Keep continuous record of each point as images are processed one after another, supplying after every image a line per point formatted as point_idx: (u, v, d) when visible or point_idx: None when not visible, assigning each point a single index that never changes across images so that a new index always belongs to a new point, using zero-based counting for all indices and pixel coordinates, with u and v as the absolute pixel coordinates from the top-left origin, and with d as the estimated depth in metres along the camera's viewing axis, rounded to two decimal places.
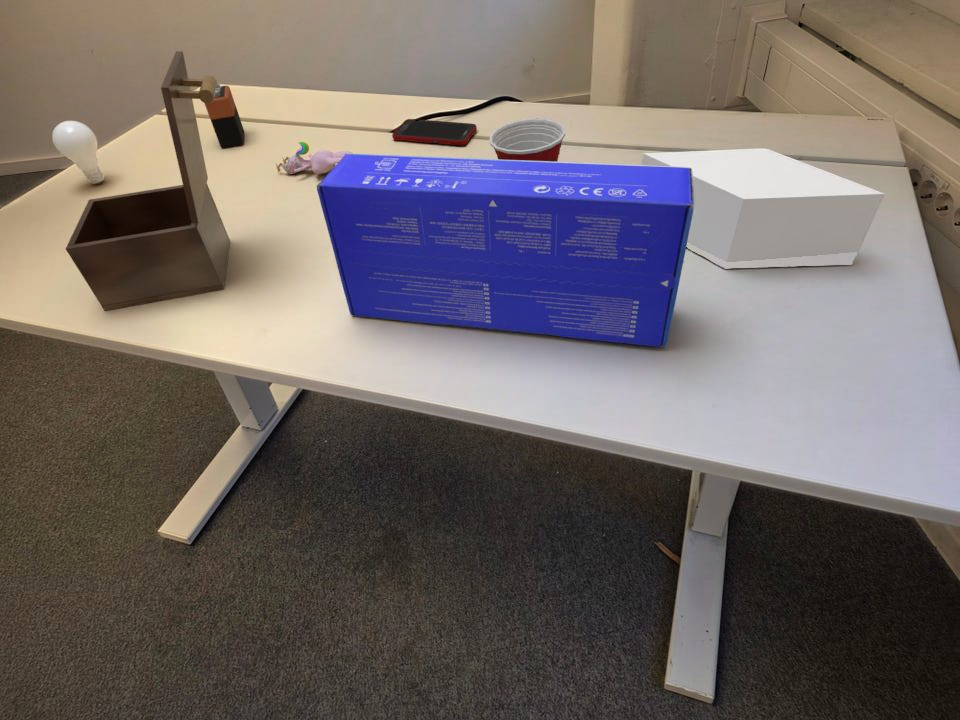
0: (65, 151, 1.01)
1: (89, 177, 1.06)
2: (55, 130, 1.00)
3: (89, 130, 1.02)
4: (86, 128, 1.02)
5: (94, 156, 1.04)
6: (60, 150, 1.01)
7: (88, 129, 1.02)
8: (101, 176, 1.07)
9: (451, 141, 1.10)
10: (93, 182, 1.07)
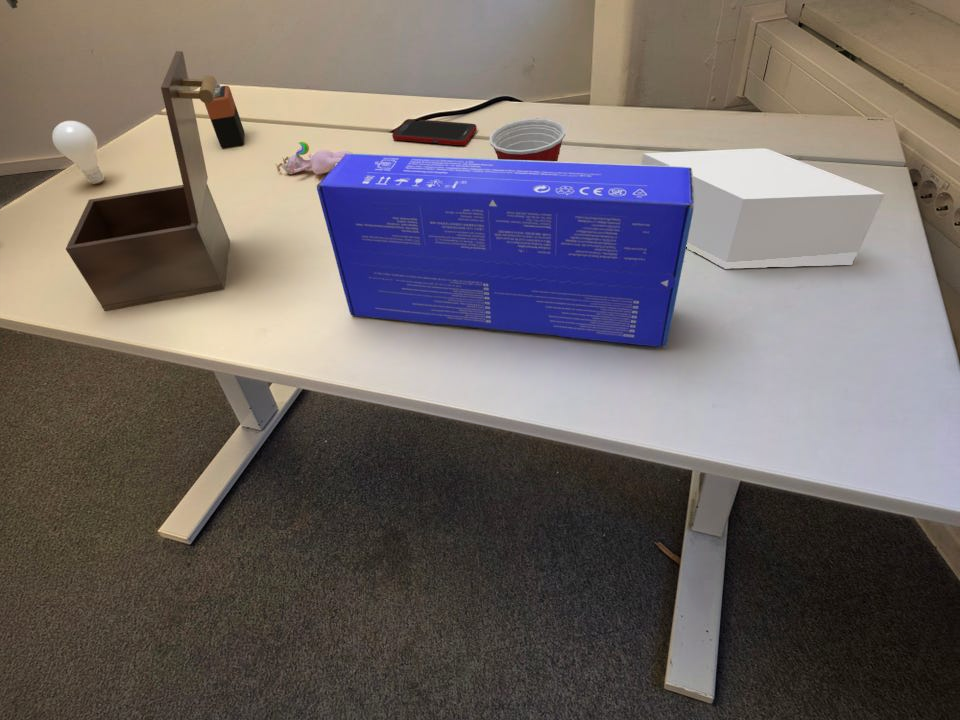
0: (65, 151, 1.01)
1: (89, 177, 1.06)
2: (55, 130, 1.00)
3: (89, 130, 1.02)
4: (86, 128, 1.02)
5: (94, 156, 1.04)
6: (60, 150, 1.01)
7: (88, 129, 1.02)
8: (101, 176, 1.07)
9: (451, 141, 1.10)
10: (93, 182, 1.07)
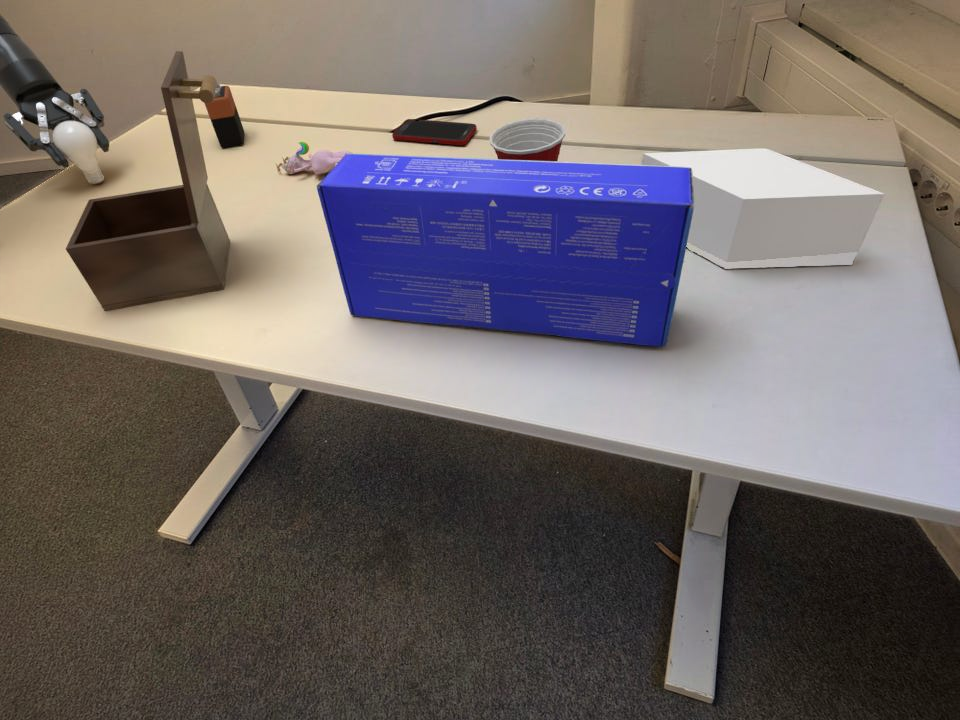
0: (65, 151, 1.01)
1: (89, 177, 1.06)
2: (55, 130, 1.00)
3: (89, 130, 1.02)
4: (86, 128, 1.02)
5: (94, 156, 1.04)
6: (60, 150, 1.01)
7: (88, 129, 1.02)
8: (101, 176, 1.07)
9: (451, 141, 1.10)
10: (93, 182, 1.07)
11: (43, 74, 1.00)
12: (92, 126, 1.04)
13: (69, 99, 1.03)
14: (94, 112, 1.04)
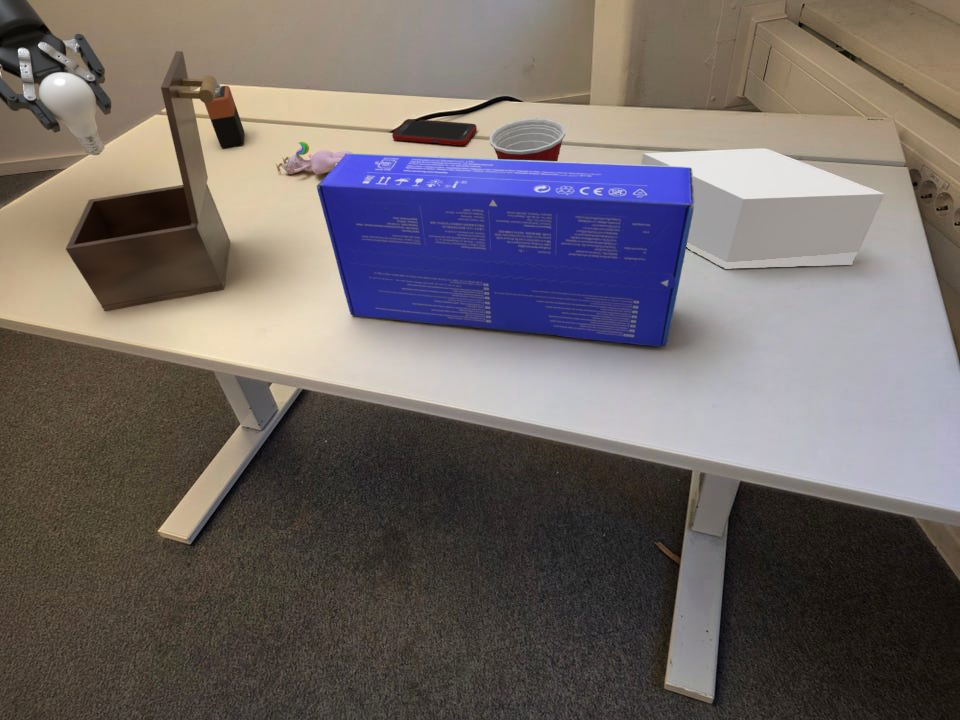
0: (56, 111, 0.79)
1: (86, 146, 0.84)
2: (43, 83, 0.78)
3: (86, 85, 0.80)
4: (82, 82, 0.80)
5: (92, 119, 0.83)
6: (49, 109, 0.79)
7: (85, 84, 0.80)
8: (101, 145, 0.85)
9: (451, 141, 1.10)
10: (91, 152, 0.85)
11: (27, 12, 0.78)
12: (90, 81, 0.82)
13: (60, 46, 0.81)
14: (92, 63, 0.83)
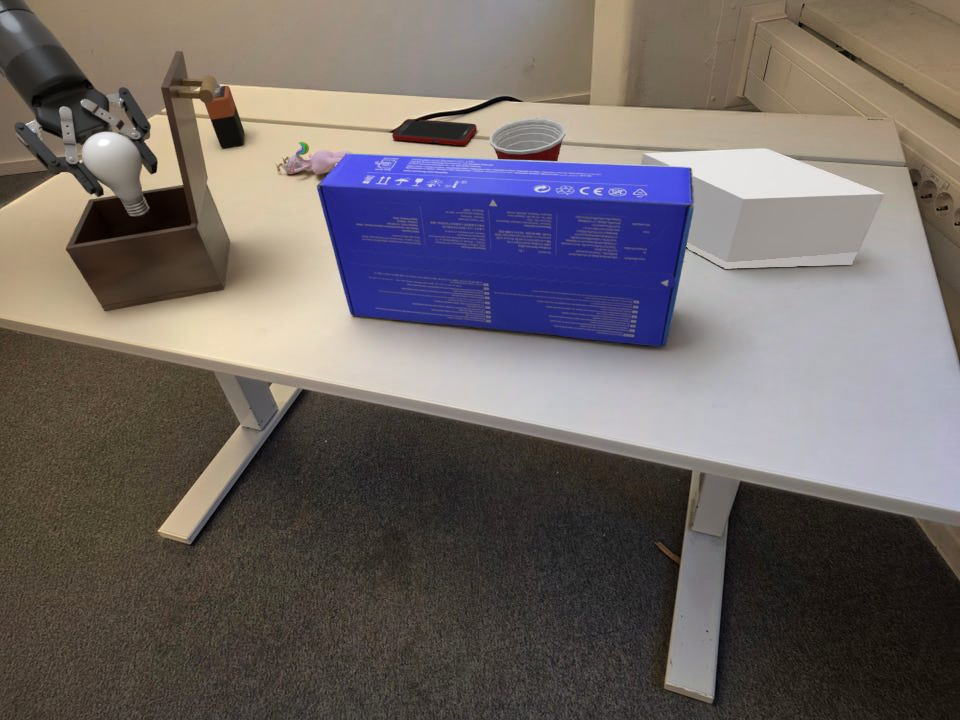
0: (100, 175, 0.72)
1: (130, 208, 0.77)
2: (86, 145, 0.71)
3: (132, 145, 0.74)
4: (128, 142, 0.73)
5: (138, 180, 0.76)
6: (92, 173, 0.72)
7: (131, 143, 0.74)
8: (146, 206, 0.79)
9: (451, 141, 1.10)
10: (135, 215, 0.78)
11: (69, 67, 0.71)
12: (135, 139, 0.75)
13: (104, 102, 0.75)
14: (138, 119, 0.76)
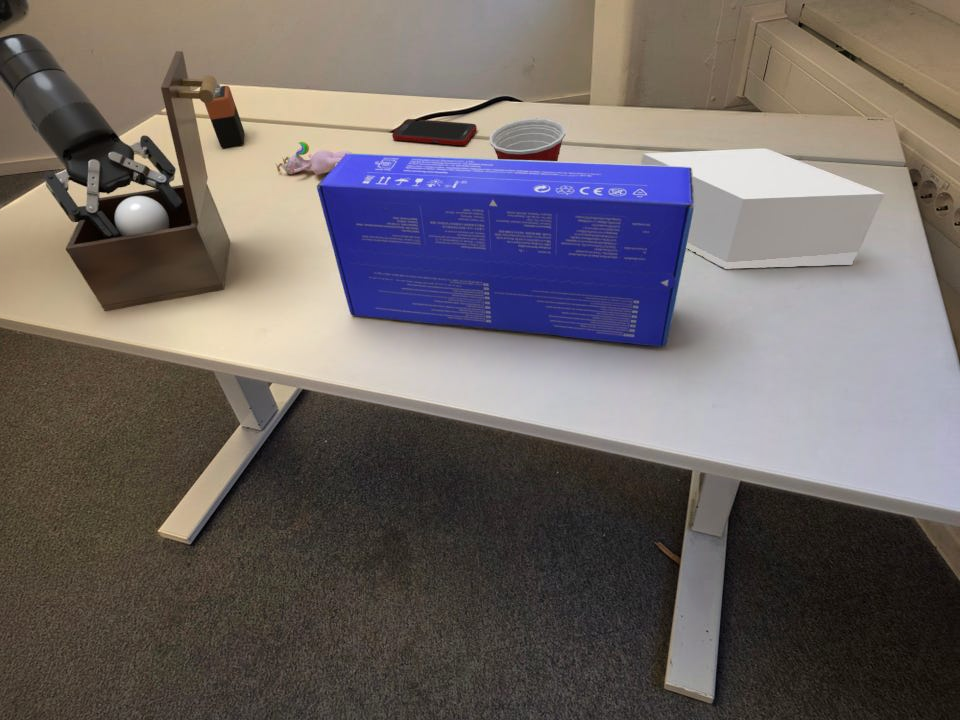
0: None
1: None
2: (119, 210, 0.77)
3: (161, 208, 0.80)
4: (157, 205, 0.79)
5: None
6: (124, 235, 0.78)
7: (159, 206, 0.79)
8: None
9: (451, 141, 1.10)
10: None
11: (98, 122, 0.76)
12: (161, 182, 0.81)
13: (129, 153, 0.79)
14: (163, 164, 0.81)
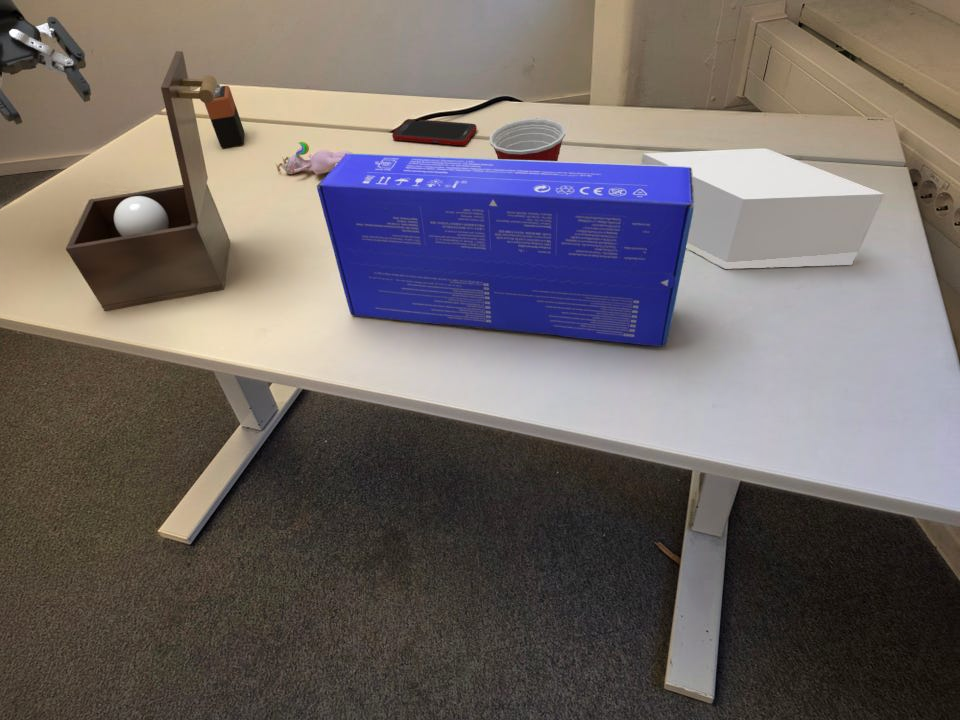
0: None
1: None
2: (118, 210, 0.77)
3: (160, 207, 0.80)
4: (156, 205, 0.79)
5: None
6: (124, 235, 0.78)
7: (159, 206, 0.79)
8: None
9: (451, 141, 1.10)
10: None
11: None
12: (68, 66, 0.78)
13: (34, 33, 0.77)
14: (71, 48, 0.78)
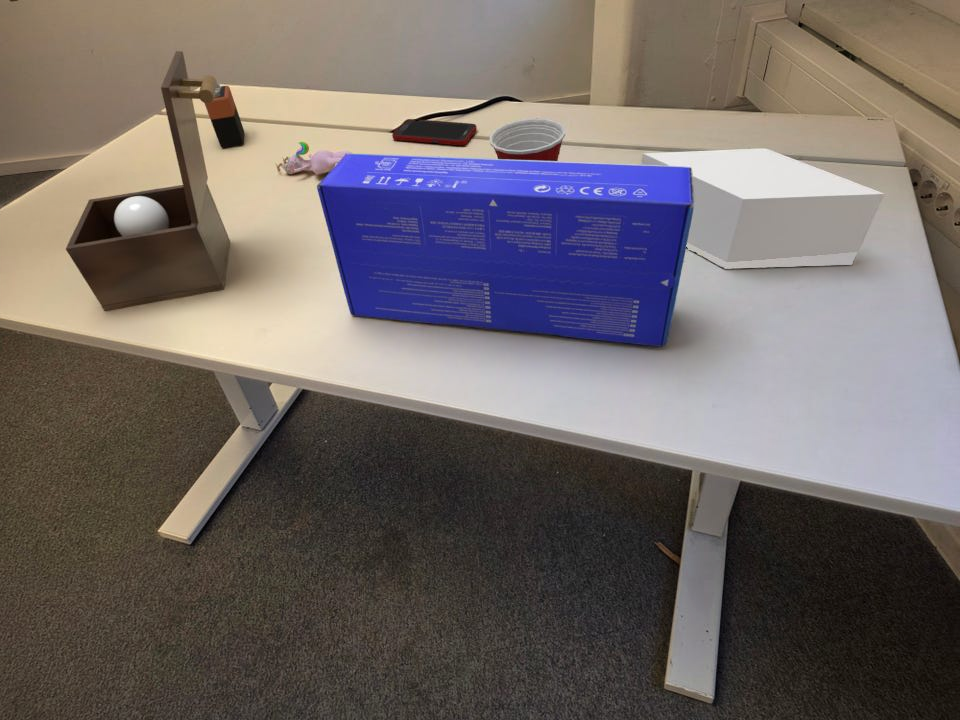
0: None
1: None
2: (118, 210, 0.77)
3: (160, 208, 0.80)
4: (157, 205, 0.79)
5: None
6: (124, 235, 0.78)
7: (159, 206, 0.79)
8: None
9: (451, 141, 1.10)
10: None
11: None
12: None
13: None
14: None
